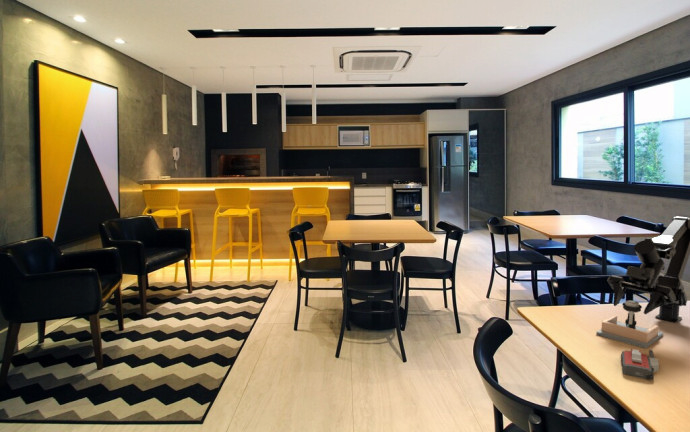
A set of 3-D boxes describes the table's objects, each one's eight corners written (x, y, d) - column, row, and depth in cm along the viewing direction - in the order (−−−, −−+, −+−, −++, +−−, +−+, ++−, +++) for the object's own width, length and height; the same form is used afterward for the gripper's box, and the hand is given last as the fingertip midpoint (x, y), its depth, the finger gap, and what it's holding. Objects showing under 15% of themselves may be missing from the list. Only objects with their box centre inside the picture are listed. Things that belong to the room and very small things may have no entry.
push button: (639, 337, 136) (641, 306, 135) (619, 333, 140) (621, 303, 139) (640, 330, 142) (642, 301, 140) (621, 327, 145) (623, 298, 144)
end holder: (615, 323, 151) (616, 312, 151) (663, 335, 140) (664, 323, 139) (596, 334, 141) (597, 322, 141) (645, 348, 130) (646, 335, 130)
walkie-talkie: (662, 385, 109) (654, 356, 126) (663, 369, 109) (656, 341, 126) (621, 377, 114) (619, 349, 131) (622, 361, 113) (620, 335, 130)
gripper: (611, 252, 148) (591, 288, 144) (674, 262, 131) (653, 303, 127) (622, 271, 152) (603, 306, 148) (684, 283, 136) (664, 323, 132)
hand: (629, 309), depth 139 cm, fingers open, 9 cm apart
